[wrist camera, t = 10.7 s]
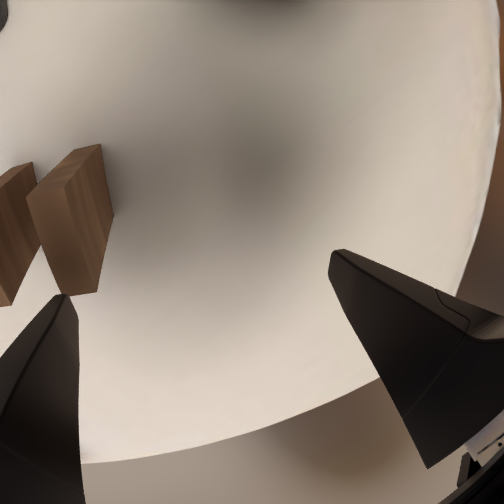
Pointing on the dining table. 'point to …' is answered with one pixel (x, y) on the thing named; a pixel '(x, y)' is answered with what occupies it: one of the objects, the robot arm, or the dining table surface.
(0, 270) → the domino
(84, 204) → the brown wooden block
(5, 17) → the smartphone with white screen
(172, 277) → the dining table surface
